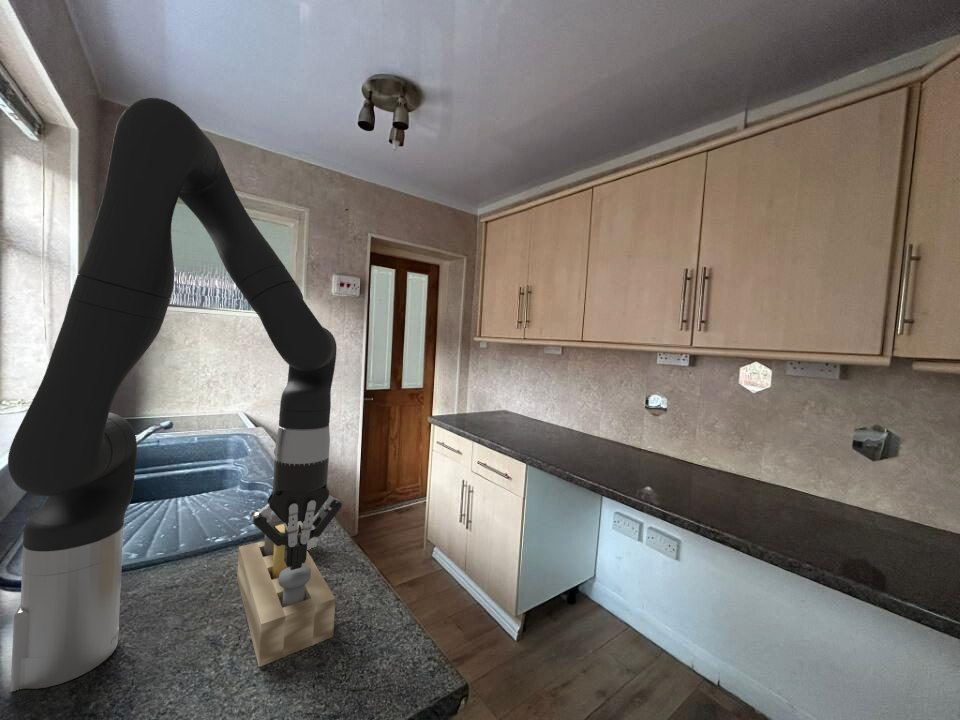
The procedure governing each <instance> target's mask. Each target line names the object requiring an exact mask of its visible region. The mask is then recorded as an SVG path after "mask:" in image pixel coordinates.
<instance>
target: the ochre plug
mask: <svg viewBox="0 0 960 720" xmlns="http://www.w3.org/2000/svg"><path fill="white" fill-rule="evenodd" d="M275 527H276V528H277V529H278V530H279V531H280V532H281V533H285V527H284V524H281V525H278V526H275ZM284 554H285V545H281V546H276V545H275V544H274V555H273V572H272V580H273V579H276V578H279V574H280V572H281V571H283V570H284V569H286V568H288V567H287V566H286V563H285V561H284Z"/></svg>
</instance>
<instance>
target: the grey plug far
mask: <svg viewBox="0 0 960 720" xmlns="http://www.w3.org/2000/svg"><path fill="white" fill-rule="evenodd" d="M271 516H272V520H271V521H270V522H271V523H272V524H273V525H274V526H278V525H281V524H284V522H282V521H281V520H280V518H279V517H278V516H277V515H276V514H275V513H274V512H273V511H272V512H271ZM263 541H264V557H265V556H269V555H273V554H274V543H273V542H272V541H271V540H270V539H269V538H268V537H267V536H266V535H265V534H264V540H263Z"/></svg>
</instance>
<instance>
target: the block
mask: <svg viewBox="0 0 960 720" xmlns="http://www.w3.org/2000/svg"><path fill="white" fill-rule="evenodd" d="M264 541H265V540H263V541H262V540H261V541H258V542H254V543H249V544H245V545H239V547H238V554H237V555H238V556H237V557H238V558H237V571H236V572H237V575H236V580H237V584H238V588H239V592H240V595H241V600H242V603H243V609H244V612H245V616H246V620H247V621H246V622H247V624H248V628H249V633H250V637H251V641H252V646H253V650H254V652H255V657H256V662H257V666H258V668H260V667H263V666H265V665H268V664H270V663H273V662H275V661H277V660H280V659H282V658H285V657H288V656H290V655H292V654H295V653H297V652H299V651H301V650H305V649H307V648H308V647H311V646H314V645H316V644H320V643H322V642H324V641H326V640H328V639H329V640H330V638H333V637H334V628H335V627H334V626H335V613H336V612H335V609H336V596H335V595H334V593H333V592H332V590H331V589H330V587H329V585H328V583H327V582H326V579H324V576H323V575H322V573H321V572H320V570H319V568H318V567H317V565H316V563H315V561H314V559H313V558H312V556H311V555H310V553H309V552H308V551H307V555H306V561H305V563H302V565H306V566H308V567H310V569H311V577H310V580H309V581H308V582H307V583H306V584H305V595H304V601H301V602H298V603H295V604H292V605H289V606H286V607H284V608H282V604H283V587H281V586H280V585H279V578H276V579H273V580H272V572H273V555H274V554H273V555H269V556H265V557H264Z"/></svg>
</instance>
